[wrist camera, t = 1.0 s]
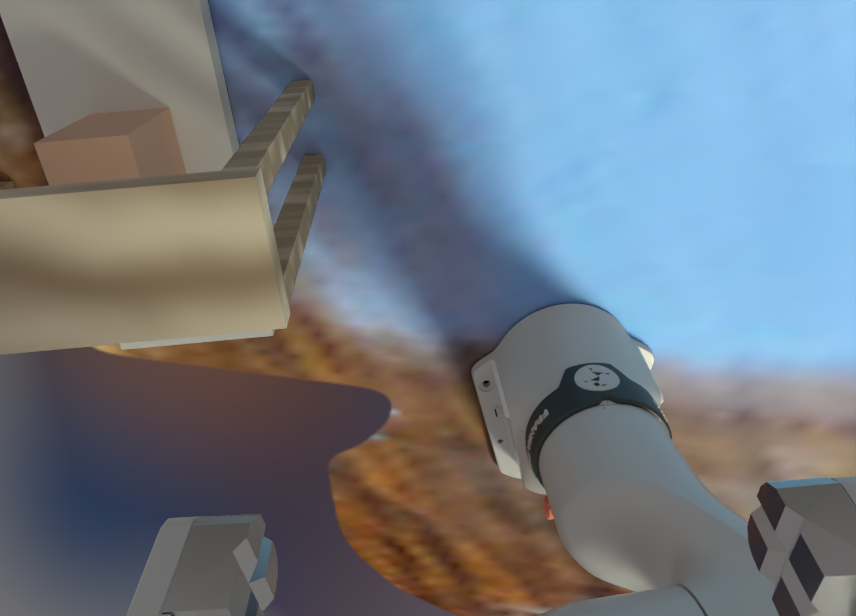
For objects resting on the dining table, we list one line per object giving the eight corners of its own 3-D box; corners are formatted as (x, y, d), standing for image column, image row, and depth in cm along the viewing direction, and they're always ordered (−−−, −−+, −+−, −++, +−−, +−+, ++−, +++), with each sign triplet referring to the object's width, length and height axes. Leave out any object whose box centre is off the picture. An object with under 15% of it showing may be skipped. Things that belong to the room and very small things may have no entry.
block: (189, 183, 51) (153, 222, 43) (114, 189, 51) (66, 230, 43) (169, 107, 48) (127, 135, 40) (90, 114, 48) (33, 143, 40)
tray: (277, 322, 61) (273, 335, 58) (131, 335, 60) (121, 349, 58) (194, -62, 45) (184, -63, 43) (-3, -46, 45) (-22, -47, 43)
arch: (327, 172, 54) (286, 328, 31) (-2, 200, 53) (-298, 382, 30) (313, 79, 50) (254, 176, 27) (-40, 109, 50) (-411, 235, 27)
